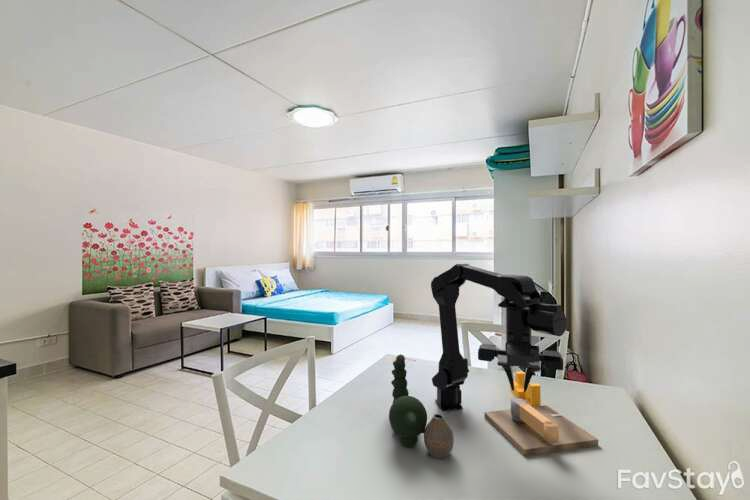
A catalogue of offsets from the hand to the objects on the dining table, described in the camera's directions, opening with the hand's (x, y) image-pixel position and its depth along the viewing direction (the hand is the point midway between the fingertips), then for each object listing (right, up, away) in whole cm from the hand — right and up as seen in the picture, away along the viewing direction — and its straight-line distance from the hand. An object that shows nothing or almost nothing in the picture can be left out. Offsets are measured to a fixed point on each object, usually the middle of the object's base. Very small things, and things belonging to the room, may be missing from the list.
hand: (518, 390), depth 82 cm
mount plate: (+7, -13, +6) cm, 16 cm away
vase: (-20, -13, -4) cm, 25 cm away
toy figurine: (-27, -13, +6) cm, 31 cm away
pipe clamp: (+13, -13, +25) cm, 31 cm away
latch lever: (+5, -10, +3) cm, 11 cm away
